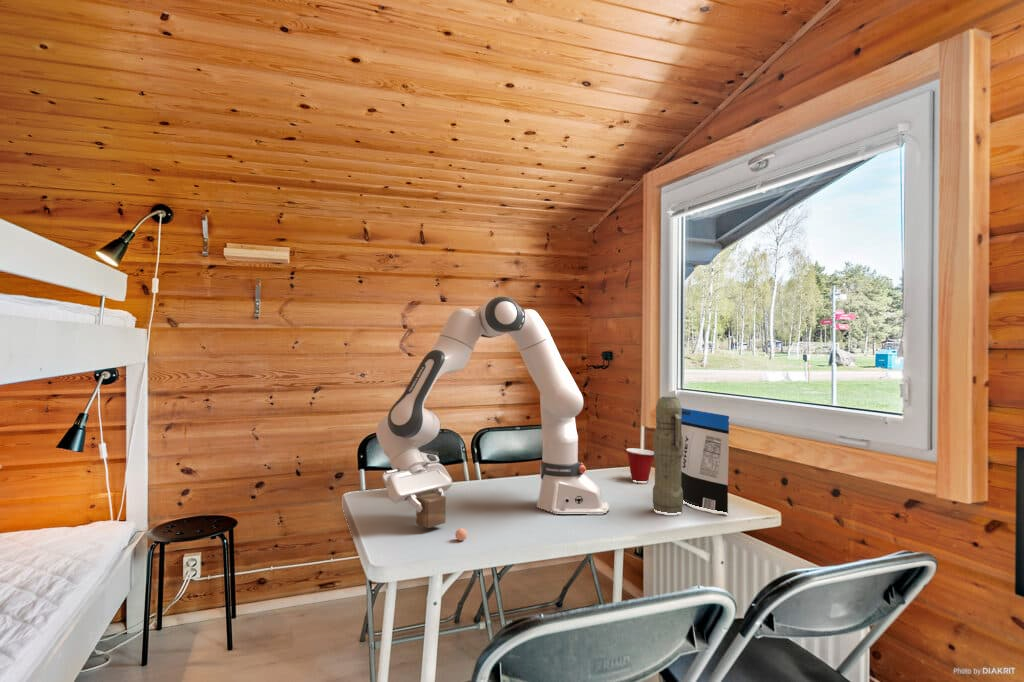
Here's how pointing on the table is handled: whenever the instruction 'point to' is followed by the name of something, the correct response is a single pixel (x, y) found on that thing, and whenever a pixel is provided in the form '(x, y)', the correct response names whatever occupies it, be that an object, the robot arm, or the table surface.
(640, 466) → the plastic cup
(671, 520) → the table surface
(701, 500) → the protein powder
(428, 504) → the wooden toy cube
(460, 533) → the ball
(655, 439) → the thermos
